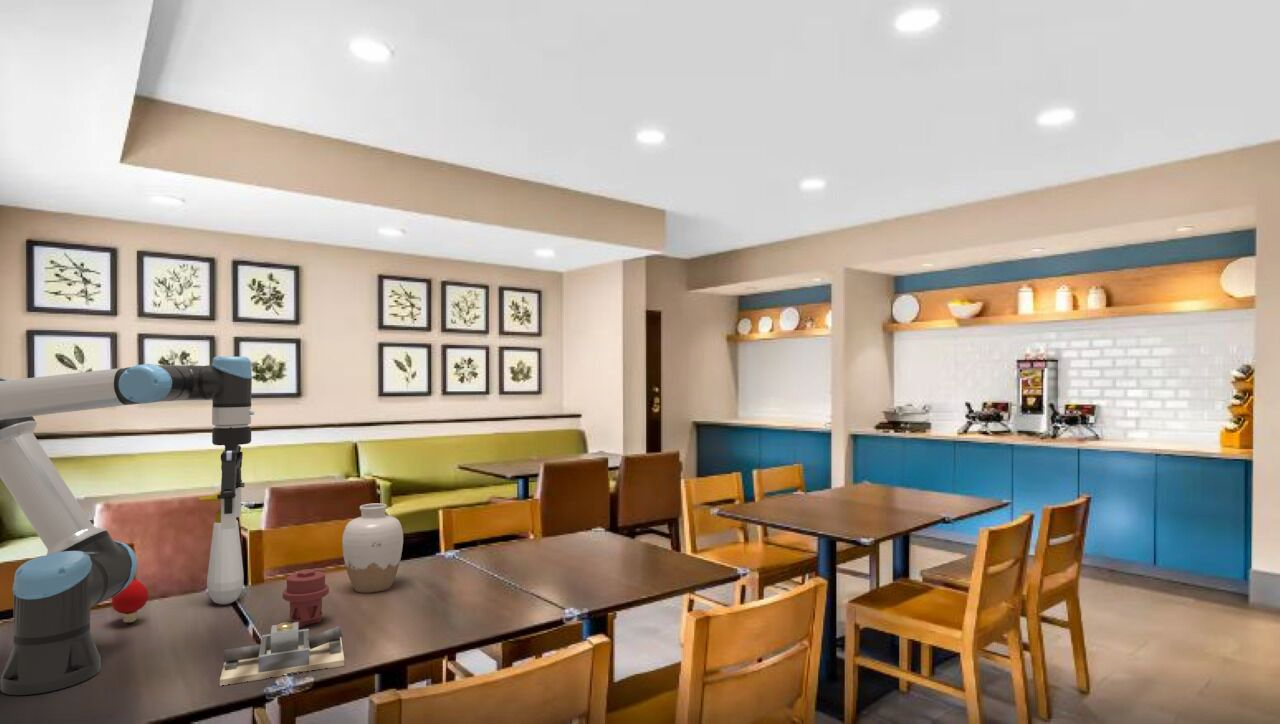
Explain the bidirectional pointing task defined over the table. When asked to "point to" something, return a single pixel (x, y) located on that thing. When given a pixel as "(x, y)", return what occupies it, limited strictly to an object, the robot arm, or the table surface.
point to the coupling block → (284, 637)
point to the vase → (372, 549)
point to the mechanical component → (306, 596)
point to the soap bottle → (224, 561)
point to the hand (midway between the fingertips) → (231, 522)
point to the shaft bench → (283, 657)
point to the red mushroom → (130, 600)
